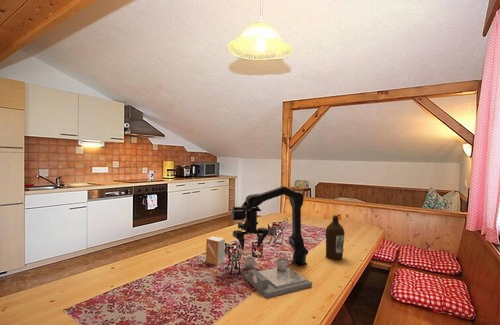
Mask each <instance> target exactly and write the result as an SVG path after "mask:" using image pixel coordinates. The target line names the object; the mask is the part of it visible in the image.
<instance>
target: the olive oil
mask: <svg viewBox="0 0 500 325" xmlns="http://www.w3.org/2000/svg"><path fill="white" fill-rule="evenodd" d="M339 220H340V218H339V215H337V214H333V215H332V221H331V222H330V224H328V225H327V226H326V229H325V257H326V258H327V259H328V260H332V261H342V260H343V255H344V250H345V249H344V245H345V244H344V242H345V236H346V235H345V234H346V233H345V229H344V227H343V226H342V224H340V222H339Z"/></svg>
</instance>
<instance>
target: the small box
mask: <svg viewBox="0 0 500 325" xmlns="http://www.w3.org/2000/svg"><path fill="white" fill-rule="evenodd" d="M225 242H226V239H225V238H223V237H220V236H219V237H218V236H215V235H214V236H210V237H208V238H206V248H205V250H206V251H205V263H207V264H211V265H215V266H220V265H221V264H223V263H224V262H225V249H226V247H225V245H226V243H225Z"/></svg>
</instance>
